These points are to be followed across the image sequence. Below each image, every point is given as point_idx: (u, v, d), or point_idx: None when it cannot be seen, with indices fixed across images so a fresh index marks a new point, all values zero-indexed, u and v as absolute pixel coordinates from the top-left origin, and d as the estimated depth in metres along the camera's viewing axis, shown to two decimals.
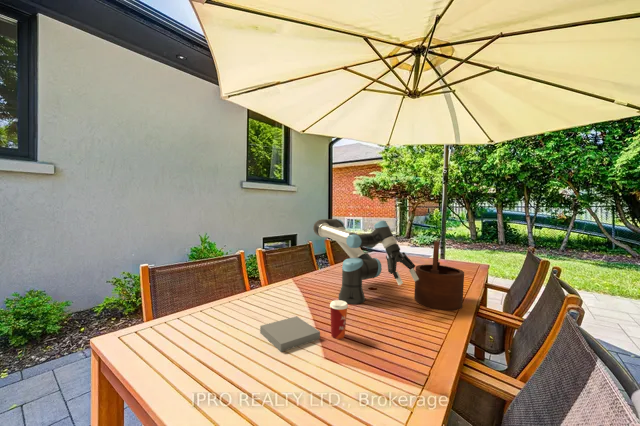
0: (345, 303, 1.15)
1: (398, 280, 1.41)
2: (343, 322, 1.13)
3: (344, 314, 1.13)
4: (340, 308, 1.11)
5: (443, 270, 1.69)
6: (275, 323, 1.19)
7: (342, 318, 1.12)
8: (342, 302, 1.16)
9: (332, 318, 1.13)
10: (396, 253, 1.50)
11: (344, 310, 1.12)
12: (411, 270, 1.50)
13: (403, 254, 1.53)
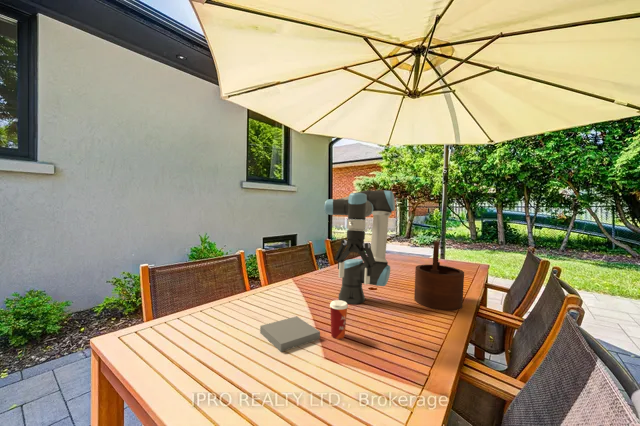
0: (345, 303, 1.15)
1: None
2: (343, 322, 1.13)
3: (344, 314, 1.13)
4: (340, 308, 1.11)
5: (443, 270, 1.69)
6: (275, 323, 1.19)
7: (342, 318, 1.12)
8: (342, 302, 1.16)
9: (332, 318, 1.13)
10: (353, 241, 1.15)
11: (344, 310, 1.12)
12: None
13: (365, 245, 1.11)
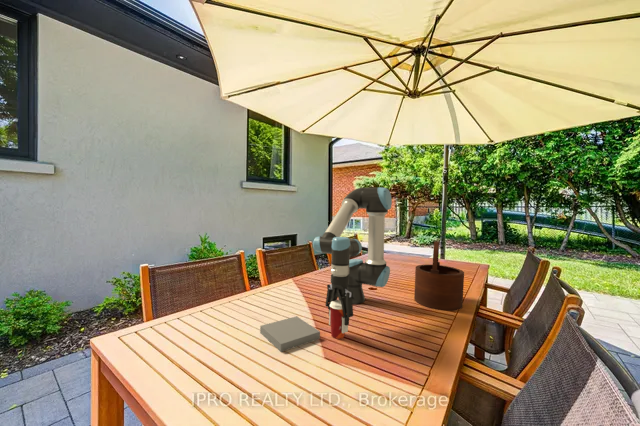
0: None
1: None
2: None
3: None
4: (340, 308, 1.11)
5: (443, 270, 1.69)
6: (275, 323, 1.19)
7: None
8: None
9: (332, 318, 1.13)
10: (337, 286, 1.14)
11: None
12: None
13: None
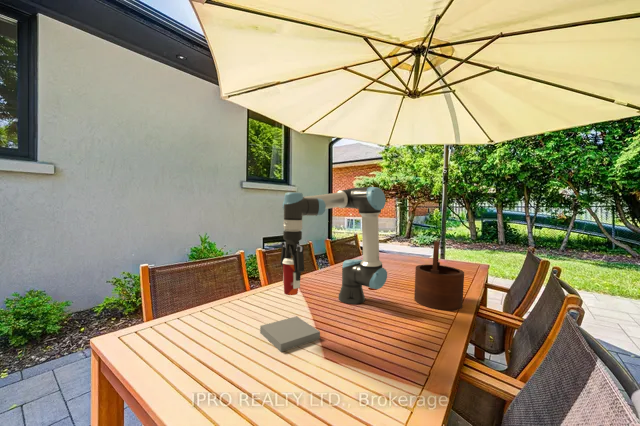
0: None
1: None
2: None
3: None
4: (291, 263, 1.09)
5: (443, 270, 1.69)
6: (275, 323, 1.19)
7: None
8: None
9: (284, 274, 1.11)
10: (289, 242, 1.12)
11: None
12: None
13: None
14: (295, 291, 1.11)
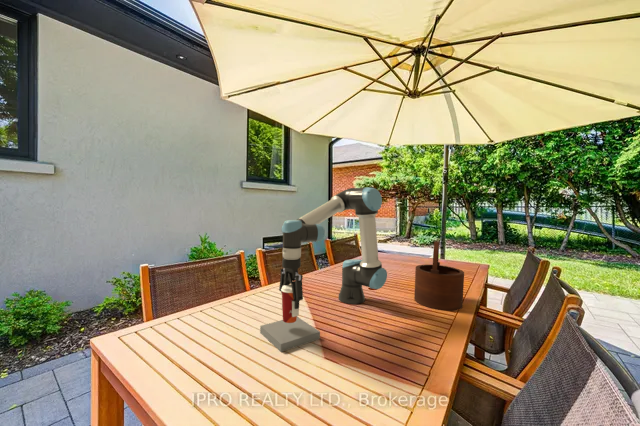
0: None
1: None
2: None
3: None
4: (290, 291, 1.10)
5: (443, 270, 1.69)
6: (275, 323, 1.19)
7: None
8: None
9: (283, 302, 1.12)
10: (288, 270, 1.13)
11: None
12: None
13: (296, 277, 1.08)
14: (294, 319, 1.12)
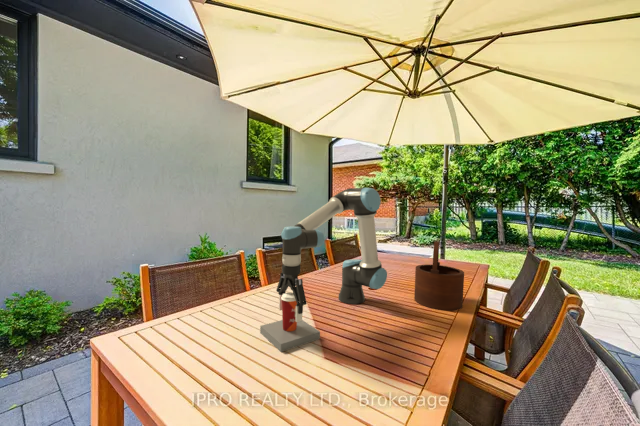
0: None
1: None
2: (294, 314, 1.11)
3: (295, 306, 1.11)
4: (290, 300, 1.10)
5: (443, 270, 1.69)
6: (275, 323, 1.19)
7: (292, 310, 1.11)
8: None
9: (283, 310, 1.12)
10: (288, 276, 1.13)
11: (294, 302, 1.11)
12: None
13: None
14: (294, 327, 1.12)
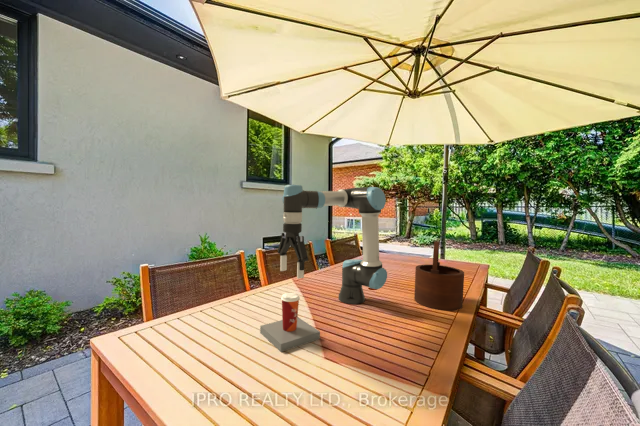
0: (296, 295, 1.13)
1: None
2: (294, 315, 1.11)
3: (295, 306, 1.11)
4: (290, 300, 1.10)
5: (443, 270, 1.69)
6: (275, 323, 1.19)
7: (292, 310, 1.11)
8: (294, 294, 1.14)
9: (283, 311, 1.12)
10: (289, 235, 1.12)
11: (294, 302, 1.11)
12: None
13: None
14: (294, 327, 1.12)
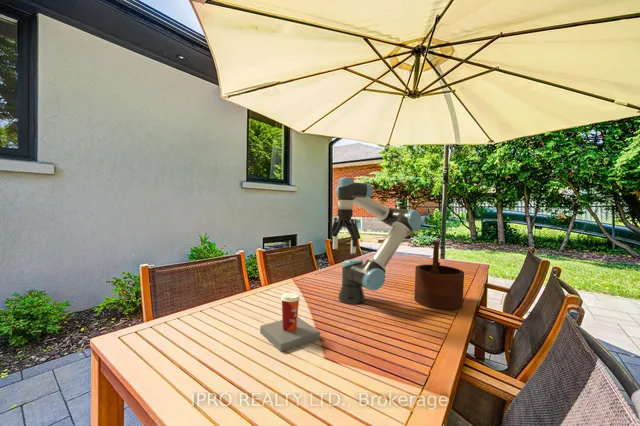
0: (296, 295, 1.13)
1: None
2: (294, 315, 1.11)
3: (295, 306, 1.11)
4: (290, 300, 1.10)
5: (443, 270, 1.69)
6: (275, 323, 1.19)
7: (292, 310, 1.11)
8: (294, 294, 1.14)
9: (283, 311, 1.12)
10: (343, 218, 1.37)
11: (294, 302, 1.11)
12: None
13: (351, 221, 1.33)
14: (294, 327, 1.12)
